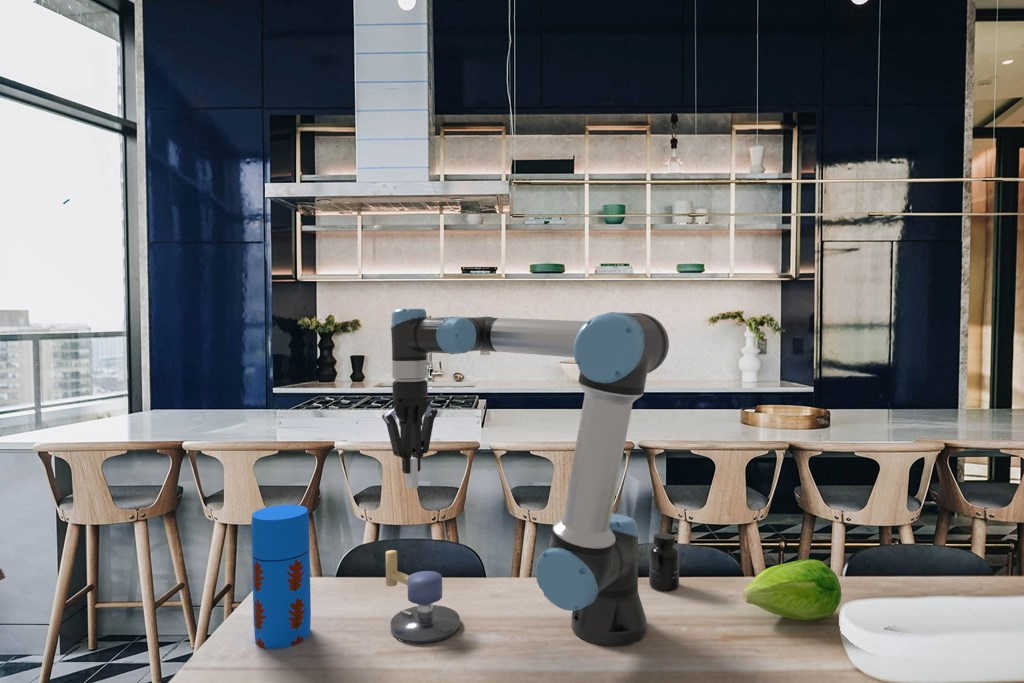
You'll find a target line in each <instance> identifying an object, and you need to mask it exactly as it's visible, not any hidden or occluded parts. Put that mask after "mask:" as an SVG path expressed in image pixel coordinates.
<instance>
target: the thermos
mask: <svg viewBox="0 0 1024 683" xmlns="http://www.w3.org/2000/svg"><path fill="white" fill-rule="evenodd" d="M309 517H310V516H309V510H308V508H307V507H306V506H303V505H299V504H279V505H272V506H268V507H267V506H266V507H264V508H260V509H258V510H256V511H254V512H253V513H252V515H251V561H252V562H251V565H252V569H251V570H252V602H253V603H252V604H253V606H252V610H253V628H254V630H253V631H254V641H255V642H254V643H255V644H256V645H257V646H258V647H261V648H264V649H270V650H271V649H272V650H276V649H277V650H278V649H285V648H290V647H294V646H296V645H298V644H300V643H302V642H304V639H305V640H307V638H309V636H310V634H311V623H312V622H311V620H312V619H311V617H312V613H311V612H312V610H311V609H312V607H311V603H312V601H311V599H312V598H311V563H310V562H311V558H310V557H311V556H310V549H311V548H310V518H309ZM308 635H309V636H308Z"/></svg>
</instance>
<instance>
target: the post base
mask: <svg viewBox="0 0 1024 683" xmlns="http://www.w3.org/2000/svg"><path fill="white" fill-rule="evenodd" d="M460 618H461V617H460V614H459V613H458V612H457V611H456V610H455V609H452V608H450V607H447V606H444V605H443V606H442V605H437V604H434V603H431V604H417V605H415V606H411V607H409V608H406V609H403V610H400V611H399V612H397V613H396V614H394V616H393V617H392V619H391V620H390V633H391V635H392V634H393V635H392V636H393V637H394V636H395V637H396V638H397V639H396V638H395V637H394V638H395V639H396V640H398V639H400V640H402V641H401V642H403V641H404V643H406V642H409V643H408V644H411V643H418V644H417V645H426V644H425V643H429V644H435V643H439V642H443V641H445V640H447V639H449V638H451V637H453V636H454V635H456V634H457V633H456V632H458V631H459V630H460V626H461V622H460ZM458 629H459V630H458ZM455 633H456V634H455ZM400 640H399V641H400ZM420 643H421V644H420Z"/></svg>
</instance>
